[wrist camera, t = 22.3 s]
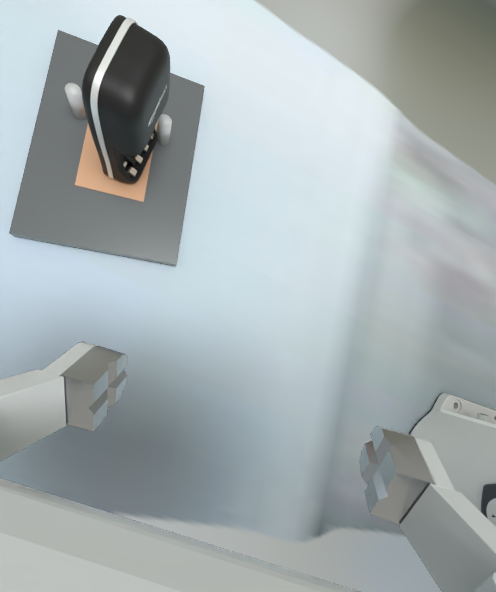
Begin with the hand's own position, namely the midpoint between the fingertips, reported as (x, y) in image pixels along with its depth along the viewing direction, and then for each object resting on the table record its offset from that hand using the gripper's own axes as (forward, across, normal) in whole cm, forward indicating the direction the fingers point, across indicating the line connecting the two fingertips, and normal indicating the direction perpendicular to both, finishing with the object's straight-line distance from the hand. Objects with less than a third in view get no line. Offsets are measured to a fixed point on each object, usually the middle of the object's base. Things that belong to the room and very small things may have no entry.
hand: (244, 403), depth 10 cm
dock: (+23, +18, -5) cm, 29 cm away
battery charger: (+23, +16, -5) cm, 28 cm away
